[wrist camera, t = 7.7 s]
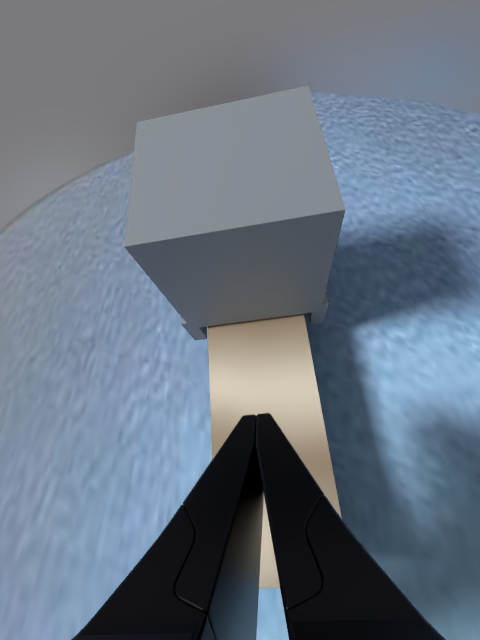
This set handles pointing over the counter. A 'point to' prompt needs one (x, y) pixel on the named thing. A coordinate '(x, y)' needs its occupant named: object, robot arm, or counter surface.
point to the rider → (236, 210)
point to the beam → (270, 399)
